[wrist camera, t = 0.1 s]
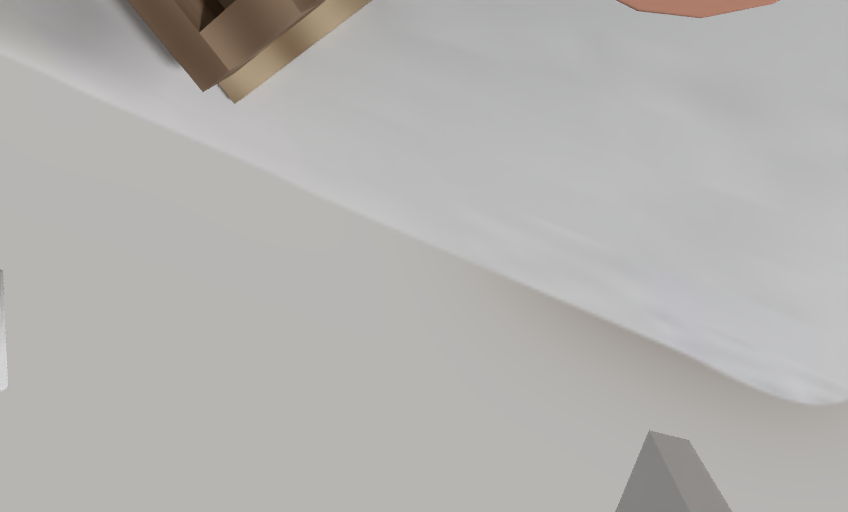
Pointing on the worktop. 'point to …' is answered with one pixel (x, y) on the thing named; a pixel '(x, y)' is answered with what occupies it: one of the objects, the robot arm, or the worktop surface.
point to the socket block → (240, 35)
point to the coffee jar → (694, 6)
